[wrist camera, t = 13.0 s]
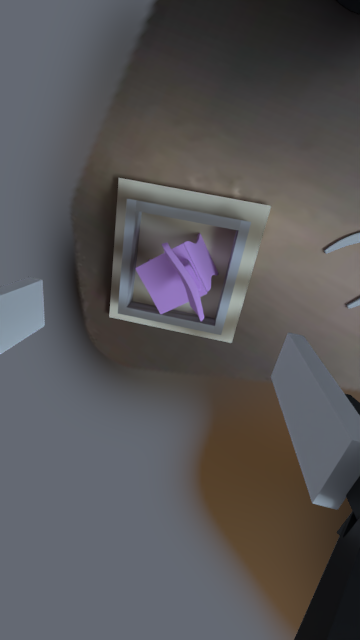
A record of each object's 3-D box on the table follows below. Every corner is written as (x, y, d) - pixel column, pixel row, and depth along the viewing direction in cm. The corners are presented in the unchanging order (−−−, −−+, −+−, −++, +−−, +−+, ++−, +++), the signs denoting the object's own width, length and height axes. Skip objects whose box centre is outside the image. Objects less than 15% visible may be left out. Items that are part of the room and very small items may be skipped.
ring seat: (121, 178, 34) (110, 174, 30) (269, 206, 33) (276, 204, 29) (111, 314, 42) (101, 324, 38) (231, 340, 41) (232, 352, 37)
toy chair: (141, 255, 36) (97, 277, 23) (196, 225, 34) (185, 231, 20) (168, 304, 39) (143, 353, 25) (221, 280, 36) (226, 319, 23)
